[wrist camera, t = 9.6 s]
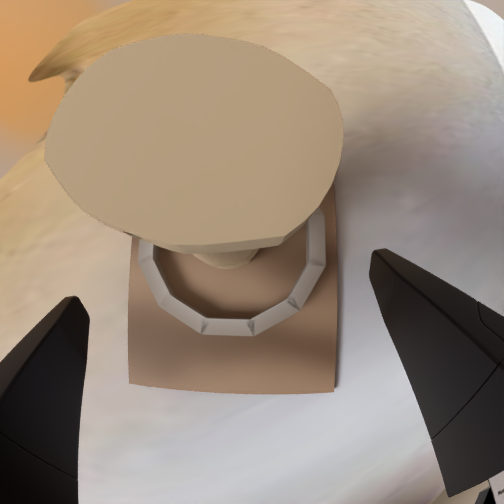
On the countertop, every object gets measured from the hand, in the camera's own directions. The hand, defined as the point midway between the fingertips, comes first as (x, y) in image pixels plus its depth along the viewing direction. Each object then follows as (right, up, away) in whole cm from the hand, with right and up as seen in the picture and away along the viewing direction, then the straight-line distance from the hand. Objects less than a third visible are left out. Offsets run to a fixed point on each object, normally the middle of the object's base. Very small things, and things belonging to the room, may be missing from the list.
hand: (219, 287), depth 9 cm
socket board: (0, +2, +12) cm, 12 cm away
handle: (0, +1, +12) cm, 12 cm away
